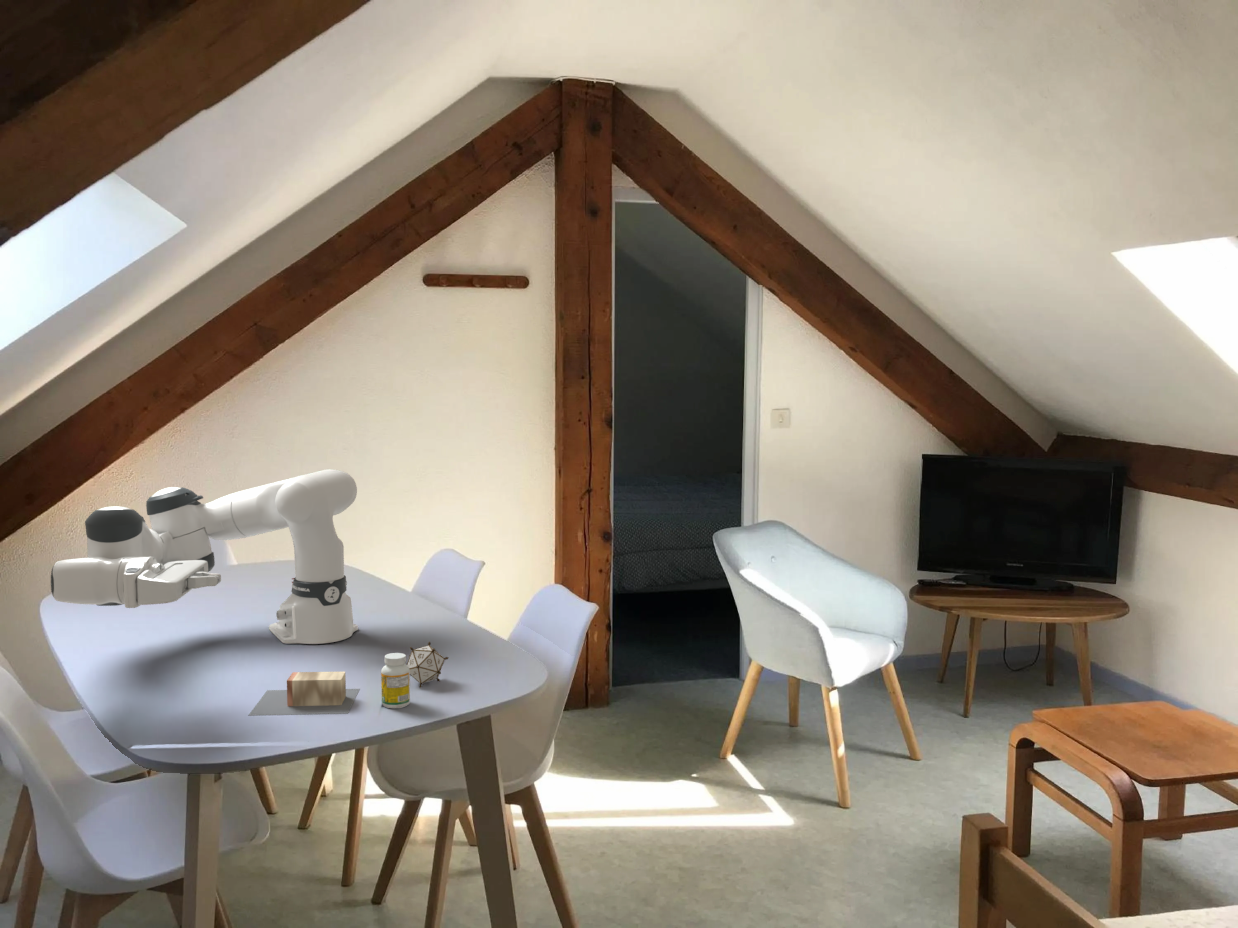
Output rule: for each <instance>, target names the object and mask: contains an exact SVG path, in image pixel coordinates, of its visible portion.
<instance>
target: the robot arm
mask: <svg viewBox="0 0 1238 928" xmlns="http://www.w3.org/2000/svg"><path fill="white" fill-rule="evenodd" d="M357 494H358V487H357V483H356V481H355V479H354V478H353V477H352V475H351V474H349V473H348V472H346V471H344V470H338V469H329V468H327V469H322V470H319V471H314V472H311V473H306V474H301V475H297V476H294V477H290V478H288V479H283V480H279V481H278V480H277V481H275V482H271V483H266V484H262V485H259V486H254V487H250V488H247V489H242V490H239V491H236V492H233V493H232V492H231V493H229V494H227V495H224V496H221V497H219V498H216V499H214V500H212V501H209V502H207V503H201V502H200V500H202V499H204V496H203V495H201V494H200V495H198V494H196V493H195V492H194V491H193V490H191V489H189V488H186V487H177V486H169V487H165V488H162V489H160V490H157V491H156V492H155V493H153V494H152V495H151V496H149V497H148V498H147V500H146V503H145V506H146V515H147V516H148V518H149V521H150V522H149V523H150V527H151V528H150V527H149V526H148V524H147V522H146V519H144V517H143V516H142V515H141V514H140V513H139V512H137V510H135V509H132V508H129V507H126V506H121V505H119V506H118V505H117V506H116V505H115V506H113V505H111V506H110V505H109V506H104V507H101V508H99V509H95V510H94V511H93V512H92V513H90V514H89V515H88V516H87V518H86V520H85V521H84V526H85V536H86V546H87V547H86V550H87V551H86V553H87V557H76V558H70V559H69V558H68V559H62V560H58V561H56V562H55V563H54V565H53V566H52V567H51V572H50V573H51V574H50V592H51V595H52V597H53V599H54V600H55V601H57V602H60V603H66V604H73V605H74V604H75V605H76V604H77V605H86V606H87V605H94V606H95V605H96V606H98V607H99V606H100V607H102V606H103V607H104V606H105V607H107V606H108V607H112V606H113V607H115V606H117V607H118V606H122V605H124V608H126V609H135V608H136V609H137V608H139V607H140V606H148V605H150V606H151V605H163V604H169V603H173V602H177V601H178V600H180V599H181V598H183V597H184V596H186V594H188V593H189V592H190V591H193V589H200V588H201V589H202V588H206V587H216V586H218V585H219V584H220V583H221V582H222V575H221V574H220V573H219V572H218V573H211V571H212V570H213V568H214V567H215V564H216V563H215V562H216V561H215V554H214V553H215V552H214V551H212V545H211V540H215V541H227V540H228V541H231V540H239V539H245V538H249V537H254V536H258V535H263V534H267V533H272V532H274V531H278V530H283V529H285V528H288V529H289V532H290V537H291V541H292V544H293V550H294V551H293V553H294V576H295V577H292V578H291V580H293V581H291V591H290V592H291V594H290V595H289V596H288V597H287V598H286V599H285V600H284V601H283V602H282V603H281V604H280V605H279V610H276V612H275V613H276V616H275V617H276V619H277V620H278V621H276V622H273V623H271V624H269V625H268V630H269V631H270V632H271V633H272V634H273V635H274V636H275V637H276V638H277V639H278V640H279V641H280V642H281V643H283V644H305V645H306V644H307V645H318V644H329V643H334V642H335V643H336V642H340V641H343V640H347V639H349V638H350V637H352V636H353V633H354V632H357V631H358V630H359V625H358V624H355V623H354V617H353V616H354V615H353V608H352V607H353V606H352V597H351V596H349V595H348V594H347V593H346V592H347V584H348V582H347V577H346V575H345V558H344V556H345V551H344V550H345V549H344V548H345V547H344V543H343V541H342V539H340V538H339V536H338V534H337V532H336V529H335V524H334V520H333V519H334V518H333V517H334V516H336V515H339V514H342V513H343V512H345V511H346V510H347V509H348V508H349V507H350V506H351V505H352V504H353V503H354V502H355V500H356V497H357ZM210 539H211V540H210Z"/></svg>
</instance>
